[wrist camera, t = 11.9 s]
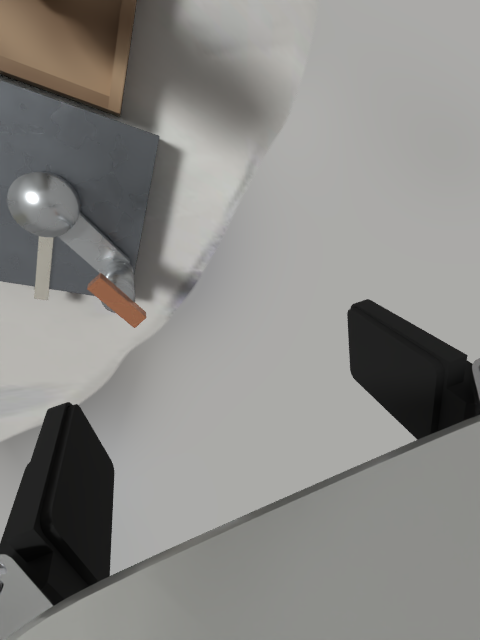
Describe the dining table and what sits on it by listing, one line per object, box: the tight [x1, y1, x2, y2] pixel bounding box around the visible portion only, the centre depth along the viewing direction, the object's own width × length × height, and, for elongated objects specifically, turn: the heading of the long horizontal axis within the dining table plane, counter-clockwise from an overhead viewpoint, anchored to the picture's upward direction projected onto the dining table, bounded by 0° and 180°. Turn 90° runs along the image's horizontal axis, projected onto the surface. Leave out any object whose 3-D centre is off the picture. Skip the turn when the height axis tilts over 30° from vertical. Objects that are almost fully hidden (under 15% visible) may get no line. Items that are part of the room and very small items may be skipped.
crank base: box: [0, 80, 159, 300], centre depth 26 cm, size 15×14×2 cm
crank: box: [7, 172, 146, 328], centre depth 23 cm, size 11×4×8 cm, turn 38°
